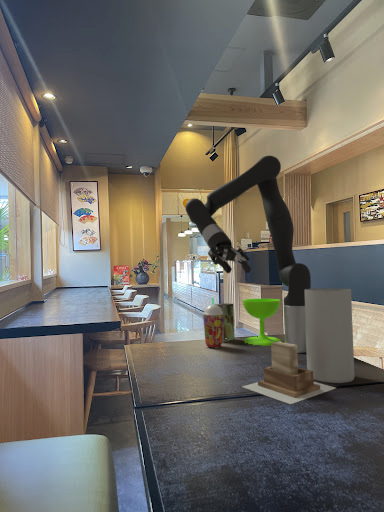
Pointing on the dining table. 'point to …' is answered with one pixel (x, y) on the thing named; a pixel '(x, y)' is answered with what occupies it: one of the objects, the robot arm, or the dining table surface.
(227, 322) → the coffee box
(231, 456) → the dining table surface
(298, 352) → the robot arm
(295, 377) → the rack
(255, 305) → the wineglass
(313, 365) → the cylinder vase
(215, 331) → the smoothie
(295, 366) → the beech block
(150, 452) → the dining table surface
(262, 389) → the mat
